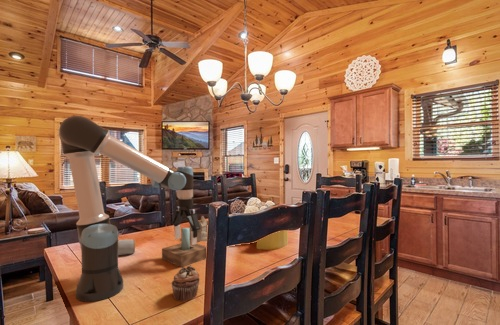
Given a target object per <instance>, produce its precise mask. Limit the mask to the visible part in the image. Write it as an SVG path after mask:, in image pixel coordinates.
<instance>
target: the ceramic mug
mask: <svg viewBox="0 0 500 325" xmlns="http://www.w3.org/2000/svg"><path fill="white" fill-rule="evenodd" d="M135 252H136V240H135V239H132V238H130V239H129V238H128V239H127V238H126V239H118V257H119V256H125V255H132V254H134V253H135Z"/></svg>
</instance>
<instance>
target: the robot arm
mask: <svg viewBox="0 0 500 325" xmlns="http://www.w3.org/2000/svg"><path fill="white" fill-rule="evenodd" d="M58 135H59V136H58V137H59V139H60V143H61V149H62V153H63V156H64V157H66V158H67V159H68V162H69V166H70V171H71V178H72V182H73V188H74V193H75V199H76V204H77V210H78V216H79V219H78V221H76V223H75V224H76V230H77V236H78V237H77V238H78V243H79V245H80V249H81V250H80V251H81V253H80V254H81V274H80V277H79V280H78V283H77V285H76V288H75V298H76V299H77V300H78V301H80V302H95V301H97V302H99V301H101V300H106V299H108V298H111V297H113V296H115V295H117V294H118V293H120V292H121V291H122V290H123V289H124V279H123V276H122V273H121V271H120V269H119V256H118V240H119V231H118V227H117V226H116V225H113V224H111V220H110V215H109V214H107V213H105V208H104V204H103V198H102V193H101V187H100V180H99V175H98V170H97V164H96V158H95V155H96V154H97V153H98V154H101V155H102V156H104V157H106V158H109V159H110V160H112V161H114V162H116V163H118V164H120V165H122V166H125V167H127V168H129V169H130V170H133V171H134V172H137V173H139V174H141V175H142V176H144V177H146V178H148V179H150V181H151V182H150V183H151V186H152V188H159V189H160V188H165V189H170V190H172V191H176V192H177V193H176V194H177V202H176V203H177V206H175V207H174V208H175V209H174V214H173V218H172V220H171V224H172V225H173V226H174V240H178V239H181V222H182V221H183V218H184V219H186V220H187V221H188V224H189V227H190V226H191V228H192V231H191V240H190V241H191V245H194V244H198V241H197V230H199V229H200V225H199V218H198V214H197V210H196V208H193V206H194V169H193V167H192V166H178V167H177V170H174V169H172V168H170V167H168V166H166V165H165V164H163V163H162V162H159V161H158V160H157V159H154V158H152V157H151V156H148V155H146V154H145V153H143V152H141V151H140V150H138V149H136V148H135V147H132V146H131V145H128V144H127V143H125V142H123V141H121V140H119V139H118V138H116V137H114V136H113V135H111V133H110V131H109V130H107V129H106V128H104V127H102V126H100V124H97V123H96V122H94V121H93V120H91V119H89V118H88V117H85V116H82V115H71V116H69V117H67V118H65V119H64V120H63V121H61V124H60V125H59V129H58ZM192 208H193V209H192Z"/></svg>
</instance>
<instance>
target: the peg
mask: <svg viewBox="0 0 500 325" xmlns="http://www.w3.org/2000/svg"><path fill="white" fill-rule="evenodd" d="M180 240H181V241H180V243H181V250H183V251H185V250H189V249H190V241H191V240H190V228H189V227H181V228H180Z"/></svg>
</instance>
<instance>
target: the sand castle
mask: <svg viewBox="0 0 500 325" xmlns="http://www.w3.org/2000/svg"><path fill="white" fill-rule="evenodd" d="M198 221H199V225H200V229H199V230H197V243H198V242H199V243H201V242H200V241H203V242H208V241H207V225H208V221H209V220H206V218H205V217H204V215H201V217H200V220H199V219H198ZM188 228H190V241H191V231H192V228H191V226H190V225H189V227H188Z"/></svg>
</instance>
